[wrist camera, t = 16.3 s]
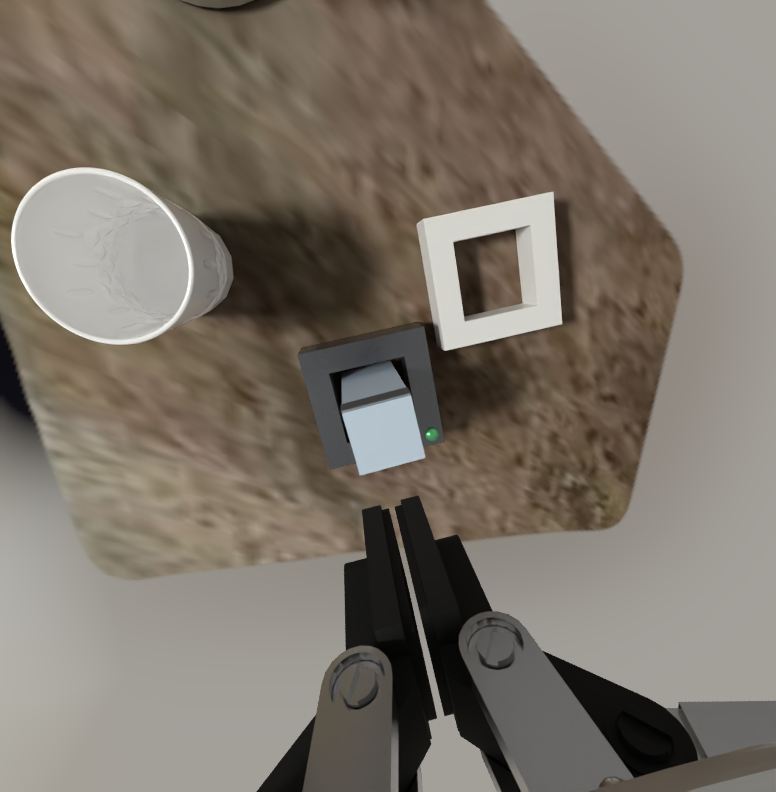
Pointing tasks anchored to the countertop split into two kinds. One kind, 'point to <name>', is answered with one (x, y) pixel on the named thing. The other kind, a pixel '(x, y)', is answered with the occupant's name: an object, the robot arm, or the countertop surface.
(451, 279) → the holster
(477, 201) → the countertop surface
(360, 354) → the port
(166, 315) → the white cup
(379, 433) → the plug
